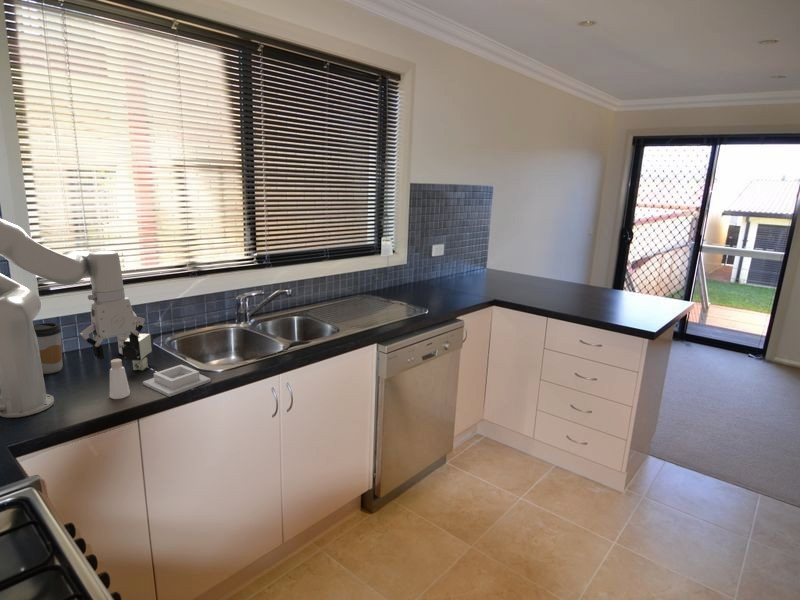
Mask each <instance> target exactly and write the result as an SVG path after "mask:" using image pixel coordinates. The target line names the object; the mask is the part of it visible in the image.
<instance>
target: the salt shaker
mask: <svg viewBox="0 0 800 600" xmlns="http://www.w3.org/2000/svg"><path fill="white" fill-rule="evenodd" d="M122 362H123V361H122V359H121V358H114V359H111V360H110V366H111V368H110V369H109V399H113V400H119V399H124V398H127V397H129V396H130V394H131V390H130V386H129V381H128V376H127V372H126V369H125V366H123V363H122Z"/></svg>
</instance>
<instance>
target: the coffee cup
mask: <svg viewBox="0 0 800 600" xmlns="http://www.w3.org/2000/svg"><path fill="white" fill-rule="evenodd" d="M33 327H34V330H35V333H36V336H37V341H38V346H39V352H40V358H41V364H42V371H43V375H44V374H45V375H46V374H53V373H57V372H60V371H62V369H63V366H64V365H63V348H62V347H63V346H62V336H61V335H62V333H61V332H62V330H61V327H60V326H59V324H58V323H56V322H42V323H38V324H37V323H36V324H33Z"/></svg>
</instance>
